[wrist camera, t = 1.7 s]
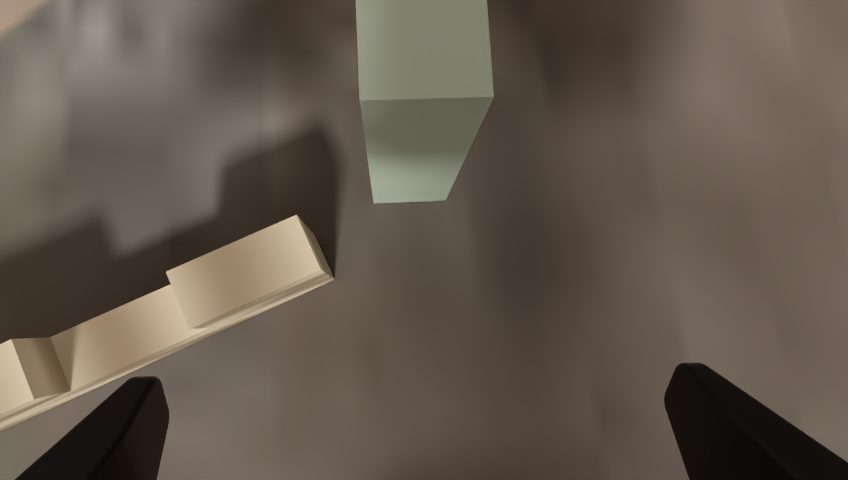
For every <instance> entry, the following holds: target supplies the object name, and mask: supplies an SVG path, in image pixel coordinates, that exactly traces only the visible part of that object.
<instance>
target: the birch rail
mask: <svg viewBox="0 0 848 480" xmlns="http://www.w3.org/2000/svg"><path fill="white" fill-rule="evenodd" d="M166 274H167V276H168V279H169V281H170V283H171V284H170V285H168V286H165V287H163V288H161V289H159V290H156V291H154V292H152V293H149V294H147V295H145V296H143V297H140V298H138V299H136V300H134V301H131V302H129V303H127V304H124V305H122V306H120V307H118V308H115V309H113V310H111V311H109V312H106V313H104V314H102V315H99V316H97V317H95V318H93V319H90V320H88V321H86V322H84V323H81V324H79V325H77V326H74V327H72V328H70V329H68V330H65V331H63V332H61V333H59V334H56V335H54V336H52V337H45V338H25V339H11V340H8V341H6V342H4V343H1V344H0V431H3V430H5V429H7V428H9V427H11V426H14V425H16V424H18V423H20V422H22V421H25V420H27V419H29V418H31V417H33V416H36V415H38V414H40V413H42V412H44V411H47V410H49V409H51V408H53V407H55V406H58V405H60V404H62V403H64V402H66V401H69V400H71V399H73V398H75V397H77V396H80V395H82V394H84V393H86V392H88V391H91V390H93V389H95V388H97V387H99V386H102V385H104V384H106V383H108V382H110V381H113V380H115V379H117V378H119V377H121V376H124V375H126V374H128V373H130V372H132V371H135V370H137V369H139V368H141V367H143V366H146V365H148V364H150V363H152V362H154V361H157V360H159V359H161V358H163V357H165V356H168V355H170V354H172V353H174V352H176V351H178V350H181V349H183V348H185V347H187V346H189V345H192V344H194V343H196V342H198V341H200V340H203V339H205V338H207V337H209V336H211V335H214V334H216V333H218V332H220V331H222V330H225V329H227V328H229V327H231V326H233V325H236V324H238V323H240V322H242V321H244V320H247V319H249V318H251V317H253V316H255V315H258V314H260V313H262V312H264V311H266V310H269V309H271V308H273V307H275V306H277V305H280V304H282V303H284V302H286V301H288V300H291V299H293V298H295V297H297V296H299V295H302V294H304V293H306V292H308V291H310V290H313V289H315V288H317V287H319V286H321V285H324V284H326V283H328V282H330V281H332V280H334V277H333V275H332V273H331V271H330V268H329V266H328V264H327V262H326V259H325V257H324V255H323V253H322V251H321V248H320V246H319V244H318V242H317V239H316V237H315V235H314V234H313V233H312V232H311V230H310V229H309V228H308V227H307V226H306V225H305V224H304V223H303V221H302V220H301V219H300V218H299V217H298V216H297V215H294V216H292V217H290V218H288V219H285V220H283V221H281V222H278V223H276V224H274V225H272V226H269V227H267V228H265V229H262V230H260V231H258V232H256V233H253V234H251V235H249V236H246V237H244V238H242V239H240V240H237V241H235V242H233V243H230V244H228V245H226V246H223V247H221V248H219V249H217V250H214V251H212V252H210V253H207V254H205V255H203V256H201V257H198V258H196V259H194V260H191V261H189V262H187V263H185V264H182V265H180V266H178V267H175V268H173V269H171V270H169V271H166Z"/></svg>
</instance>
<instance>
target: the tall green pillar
mask: <svg viewBox="0 0 848 480" xmlns="http://www.w3.org/2000/svg"><path fill="white" fill-rule="evenodd" d="M356 21H357V47H358V72H359V98H360V107H361V114H362V122H363V129H364V136H365V143H366V151H367V158H368V165H369V173H370V180H371V187H372V195H373V202H374V203H397V202H422V201H446V199H447V196H448V194H449V192H450V190H451V188H452V186H453V184H454V181H455V179H456V177H457V175H458V173H459V171H460V169H461V166H462V164H463V162H464V160H465V158H466V156H467V154H468V151H469V149H470V147H471V145H472V143H473V141H474V139H475V137H476V134H477V132H478V130H479V128H480V126H481V124H482V122H483V119H484V117H485V115H486V113H487V111H488V109H489V107H490V104H491V102H492V100H493V98H494V89H493V76H492V62H491V49H490V35H489V22H488V8H487V0H356Z"/></svg>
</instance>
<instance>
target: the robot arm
mask: <svg viewBox="0 0 848 480" xmlns="http://www.w3.org/2000/svg"><path fill="white" fill-rule="evenodd" d="M664 403H665V408H666V411H667V414H668V417H669V420H670V423H671V426H672V429H673V432H674V435H675V438H676V441H677V444H678V447H679V450H680V453H681V456H682V459H683V462H684V465H685V468H686V471H687V474H688V477H689V479H690V480H848V462H846V461H845V460H843V459H842V458H840V457H839V456H837V455H836V454H835V453H833V452H832V451H830V450H829V449H827V448H826V447H824V446H823V445H821V444H820V443H818V442H817V441H816V440H814V439H813V438H811V437H810V436H808V435H807V434H805V433H804V432H802V431H801V430H800V429H798V428H797V427H795V426H794V425H792V424H791V423H789V422H788V421H786V420H785V419H783V418H782V417H781V416H779V415H778V414H776V413H775V412H773V411H772V410H770V409H769V408H767V407H766V406H764V405H763V404H762V403H760V402H759V401H757V400H756V399H754V398H753V397H751V396H750V395H748V394H747V393H746V392H744V391H743V390H741V389H740V388H738V387H737V386H735V385H734V384H732V383H731V382H729V381H728V380H727V379H725V378H724V377H722V376H721V375H719V374H718V373H716V372H715V371H713V370H712V369H711V368H709V367H708V366H706V365H704V364H702V363H681V364H679V365H678V366H677V367H676V368H675V371H674V373H673V375H672V378H671V380H670V383H669V385H668V387H667V390H666V392H665V397H664ZM168 424H169V409H168V405H167V402H166V398H165V394H164V391H163V387H162V383H161V381H160V379H159V378H158V377H155V376H146V377H133V378H130V379H129V380H127V381H126V382H125V383H124V384H123V385H122V386H120V387H119V388H118V389H117V390H116V391H115V392H114V393H112V394H111V395H110V396H109V397H108V398H107V399H106V400H105V401H103V402H102V403H101V404H100V405H99V406H98V407H97V408H95V409H94V410H93V411H92V412H91V413H90V414H89V415H88V416H86V417H85V418H84V419H83V420H82V421H81V422H80V423H78V424H77V425H76V426H75V427H74V428H73V429H72V430H70V431H69V432H68V433H67V434H66V435H65V436H64V437H63V438H61V439H60V440H59V441H58V442H57V443H56V444H55V445H53V446H52V447H51V448H50V449H49V450H48V451H47V452H46V453H44V454H43V455H42V456H41V457H40V458H39V459H38V460H36V461H35V462H34V463H33V464H32V465H31V466H30V467H28V468H27V469H26V470H25V471H24V472H23V473H22V474H21V475H19V476H18V477H17V478H16V479H15V480H157V475H158V470H159V466H160V461H161V456H162V452H163V447H164V443H165V438H166V433H167V429H168Z"/></svg>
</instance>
